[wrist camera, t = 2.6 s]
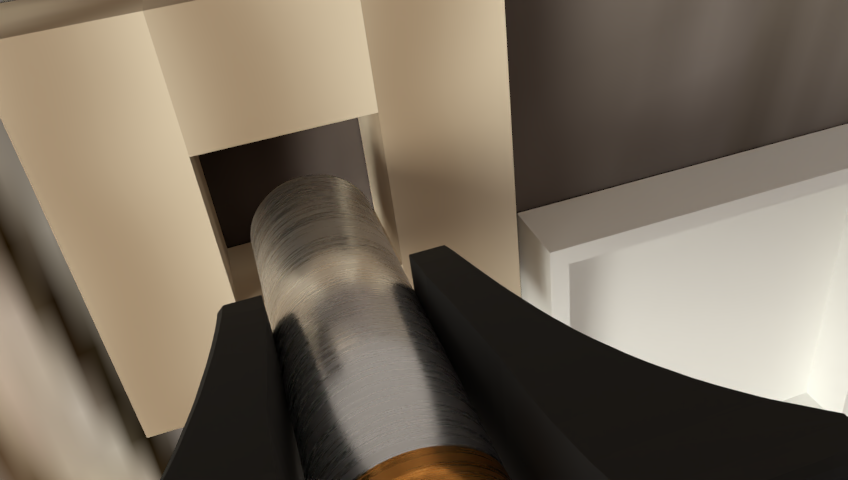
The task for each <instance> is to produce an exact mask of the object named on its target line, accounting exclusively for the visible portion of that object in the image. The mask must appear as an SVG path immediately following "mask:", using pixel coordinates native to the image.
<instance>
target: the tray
mask: <svg viewBox="0 0 848 480" xmlns="http://www.w3.org/2000/svg"><path fill="white" fill-rule="evenodd" d="M517 222H518V240H519V258H520V276H521V294H522V299H524V300H525V301H527V302H529V303H530V304H532V305H533V306H535V307H536V308H538V309H540V310H541V311H543V312H545V313H546V314H548V315H550V316H551V317H553V318H555V319H557V320H559V321H560V322H562V323H564V324H566V325H568V326H570V327H571V328H573V329H575V330H577V331H579V332H581V333H583V334H585V335H587V336H589V337H591V338H593V339H595V340H597V341H600V342H602V343H604V344H606V345H609V346H611V347H613V348H615V349H618V350H620V351H622V352H624V353H627V354H629V355H631V356H634V357H636V358H639V359H641V360H644V361H646V362H649V363H652V364H654V365H657V366H660V367H663V368H666V369H669V370H672V371H674V372H677V373H680V374H683V375H686V376H689V377H692V378H695V379H698V380H702V381H705V382H708V383H711V384H715V385H718V386H722V387H725V388H729V389H733V390H737V391H741V392H744V393H748V394H752V395H756V396H760V397H764V398H768V399H773V400H778V401H783V402H788V403H793V404H798V405H803V406H808V407H813V408H818V409H823V410H828V411H834V412H839V413H844V414H845V415H846V416H847V417H848V124H844V125H840V126H837V127H833V128H829V129H826V130H822V131H818V132H815V133H811V134H807V135H804V136H800V137H796V138H793V139H789V140H785V141H782V142H778V143H774V144H771V145H767V146H763V147H760V148H756V149H752V150H748V151H745V152H741V153H737V154H734V155H730V156H726V157H723V158H719V159H715V160H712V161H708V162H704V163H701V164H697V165H693V166H690V167H686V168H682V169H679V170H675V171H671V172H668V173H664V174H660V175H656V176H653V177H649V178H645V179H642V180H638V181H634V182H631V183H627V184H623V185H620V186H616V187H612V188H609V189H605V190H601V191H598V192H594V193H590V194H587V195H583V196H579V197H576V198H572V199H568V200H564V201H561V202H557V203H553V204H550V205H546V206H542V207H539V208H535V209H531V210H528V211H524V212H520V213H517Z"/></svg>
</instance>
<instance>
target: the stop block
mask: <svg viewBox="0 0 848 480" xmlns="http://www.w3.org/2000/svg"><path fill="white" fill-rule="evenodd" d="M357 117H358V121H359V127H360V132H361V138H362V144H363V149H364V155H365V161H366V166H367V172H368V178H369V183H370V189H371V195H372V200H373V206H374V210H373V211H374V213H375V215H376V217H377V219H378V221H379V223H380V225H381V227H382V229H383V231H384V233H385V235H386V237H387V239H388V241H389V242H390V244H391V246H392V248H393V250H394V252H395V254H396V256H397V258H398V260H399V262H400V264H401V266H402V268H403V270H404V272H405V274H406V276H407V278H408V280H409V282H410V284H411V286H412V287H413V289H414V285H413V279H412V272H411V266H410V259H409V255H410V254H413V253H417V252H421V251H424V250H428V249H432V248H435V247H439V246H443V245H445V246H447V247H449V248H450V249H452V250H453V251H455V252H456V253H457V254H459V255H460V256H461V257H463V258H464V259H465V260H467V261H468V262H470V263H471V264H472V265H474V266H475V267H477V268H478V269H479V270H481V271H482V272H484V273H485V274H486V275H488V276H489V277H491V278H492V279H494V280H495V281H496V282H498V283H499V284H501V285H502V286H504V287H505V288H507V289H508V290H510V291H511V292H513V293H514V294H516V295H518V296H519V297H521V286H520V269H519V251H518V233H517V215H516V197H515V180H514V162H513V144H512V126H511V109H510V91H509V73H508V55H507V38H506V20H505V2H504V0H15V1H9V2H4V3H0V118H1V120H2V122H3V124H4V127H5V129H6V131H7V133H8V135H9V138H10V140H11V142H12V144H13V146H14V148H15V151H16V153H17V155H18V157H19V159H20V162H21V164H22V166H23V168H24V170H25V172H26V175H27V177H28V179H29V181H30V183H31V186H32V188H33V190H34V192H35V194H36V197H37V199H38V201H39V203H40V205H41V207H42V210H43V212H44V214H45V216H46V218H47V221H48V223H49V225H50V227H51V229H52V231H53V234H54V236H55V238H56V240H57V242H58V245H59V247H60V249H61V251H62V253H63V255H64V258H65V260H66V262H67V264H68V266H69V269H70V271H71V273H72V275H73V277H74V279H75V282H76V284H77V286H78V288H79V290H80V293H81V295H82V297H83V299H84V301H85V303H86V306H87V308H88V310H89V312H90V314H91V317H92V319H93V321H94V323H95V325H96V328H97V330H98V332H99V334H100V336H101V338H102V341H103V343H104V345H105V347H106V349H107V352H108V354H109V356H110V358H111V360H112V362H113V365H114V367H115V369H116V371H117V373H118V376H119V378H120V380H121V382H122V384H123V386H124V389H125V391H126V393H127V395H128V397H129V400H130V402H131V404H132V406H133V408H134V410H135V413H136V415H137V417H138V419H139V421H140V424H141V426H142V428H143V430H144V432H145V435H146V437H147V438H148V437H152V436H155V435H158V434H162V433H165V432H168V431H172V430H175V429H178V428H182V427H184V426H185V423H186V421H187V418H188V416H189V413H190V411H191V408H192V406H193V403H194V400H195V397H196V394H197V391H198V388H199V385H200V382H201V379H202V376H203V373H204V370H205V367H206V363H207V360H208V356H209V352H210V349H211V345H212V341H213V336H214V332H215V326H216V320H217V313H218V312H219V310H220V309H221V307H222V306H223V305H226V304H230V303H234V302H237V301H241V300H245V299H248V298H252V297H256V296H259V295H262V298H263V301H264V297H263V292H262V288H261V283H260V279H259V275H258V270H257V266H256V261H255V257H254V252H253V248H252V243H251V242H250V243H246V244H242V245H238V246H234V247H231V248H227V247H226V243H225V240H224V237H223V234H222V231H221V227H220V224H219V221H218V218H217V215H216V211H215V208H214V205H213V202H212V199H211V195H210V192H209V189H208V186H207V182H206V179H205V176H204V173H203V170H202V166H201V163H200V160H199V157H198V155H201V154H205V153H209V152H213V151H217V150H222V149H226V148H230V147H234V146H239V145H243V144H247V143H251V142H256V141H260V140H264V139H268V138H272V137H277V136H281V135H285V134H289V133H294V132H298V131H302V130H306V129H311V128H315V127H319V126H323V125H327V124H332V123H336V122H340V121H344V120H349V119H353V118H357ZM264 305H265V301H264ZM265 308H266V306H265ZM266 312H267V310H266Z"/></svg>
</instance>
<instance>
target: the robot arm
mask: <svg viewBox="0 0 848 480" xmlns="http://www.w3.org/2000/svg"><path fill="white" fill-rule="evenodd" d="M409 259H410V266H411V272H412V279H413V285H414V291H415V293H416V295H417V297H418V299H419V301H420V303H421V305H422V307H423V309H424V311H425V313H426V315H427V317H428V319H429V321H430V323H431V325H432V327H433V329H434V331H435V332H436V334H437V336H438V338H439V340H440V342H441V344H442V346H443V348H444V350H445V352H446V354H447V356H448V358H449V360H450V362H451V364H452V366H453V368H454V370H455V372H456V374H457V376H458V377H459V379H460V381H461V383H462V385H463V387H464V389H465V391H466V393H467V395H468V397H469V399H470V401H471V403H472V405H473V407H474V409H475V411H476V413H477V415H478V417H479V419H480V421H481V422H482V424H483V426H484V428H485V430H486V432H487V434H488V436H489V438H490V440H491V442H492V444H493V446H494V448H495V450H496V452H497V454H498V456H499V458H500V460H501V462H502V464H503V466H504V467H505V469H506V471H507V473H508V475H509V477H510V479H511V480H848V417H847V416H846V415H845V414H844V413H839V412H834V411H828V410H823V409H818V408H813V407H808V406H803V405H798V404H793V403H788V402H783V401H778V400H773V399H768V398H764V397H760V396H756V395H752V394H748V393H744V392H741V391H737V390H733V389H729V388H725V387H722V386H718V385H715V384H711V383H708V382H705V381H702V380H698V379H695V378H692V377H689V376H686V375H683V374H680V373H677V372H674V371H672V370H669V369H666V368H663V367H660V366H657V365H654V364H652V363H649V362H646V361H644V360H641V359H639V358H636V357H634V356H631V355H629V354H627V353H624V352H622V351H620V350H618V349H615V348H613V347H611V346H609V345H606V344H604V343H602V342H600V341H597V340H595V339H593V338H591V337H589V336H587V335H585V334H583V333H581V332H579V331H577V330H575V329H573V328H571V327H570V326H568V325H566V324H564V323H562V322H560V321H559V320H557V319H555V318H553V317H551V316H550V315H548V314H546V313H545V312H543V311H541V310H540V309H538V308H536V307H535V306H533V305H532V304H530V303H529V302H527V301H525V300H524V299H522V298H521V297H519V296H518V295H516V294H514V293H513V292H511V291H510V290H508V289H507V288H505V287H504V286H502V285H501V284H499V283H498V282H496V281H495V280H494V279H492V278H491V277H489V276H488V275H486V274H485V273H484V272H482V271H481V270H479V269H478V268H477V267H475V266H474V265H472V264H471V263H470V262H468V261H467V260H465V259H464V258H463V257H461V256H460V255H459V254H457V253H456V252H455V251H453V250H452V249H450V248H449V247H447V246H445V245H443V246H439V247H435V248H432V249H428V250H424V251H421V252H417V253H413V254H410V255H409ZM160 480H305V479H304V475H303V470H302V466H301V461H300V457H299V452H298V448H297V443H296V439H295V435H294V430H293V426H292V421H291V417H290V412H289V408H288V403H287V399H286V394H285V389H284V383H283V377H282V372H281V367H280V363H279V358H278V354H277V350H276V345H275V341H274V336H273V332H272V329H271V325H270V322H269V319H268V315H267V312H266V308H265V305H264V301H263V298H262V295H259V296H256V297H252V298H248V299H245V300H241V301H237V302H234V303H230V304H226V305H223V306H222V307H221V309H220V310H219V312H218V313H217V320H216V326H215V332H214V336H213V341H212V345H211V349H210V352H209V356H208V360H207V363H206V367H205V370H204V373H203V376H202V379H201V382H200V385H199V388H198V391H197V394H196V397H195V400H194V403H193V406H192V408H191V411H190V413H189V416H188V418H187V421H186V423H185V426H184V428H183V431H182V433H181V435H180V438H179V440H178V443H177V445H176V448H175V450H174V452H173V454H172V456H171V458H170V461H169V463H168V465H167V467H166V469H165V471H164V473H163V475H162V477H161V479H160Z"/></svg>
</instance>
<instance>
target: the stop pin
mask: <svg viewBox="0 0 848 480" xmlns="http://www.w3.org/2000/svg"><path fill="white" fill-rule="evenodd" d="M250 234H251V243H252V248H253V252H254V257H255V261H256V266H257V270H258V275H259V279H260V283H261V288H262V292H263V297H264V301H265V306H266V310H267V315H268V319H269V322H270V325H271V329H272V332H273V336H274V341H275V345H276V350H277V354H278V358H279V363H280V367H281V372H282V377H283V383H284V389H285V394H286V399H287V403H288V408H289V412H290V417H291V421H292V426H293V430H294V435H295V439H296V443H297V448H298V452H299V457H300V461H301V466H302V470H303V475H304V479H305V480H511V479H510V477H509V475H508V473H507V471H506V469H505V467H504V466H503V464H502V462H501V460H500V458H499V456H498V454H497V452H496V450H495V448H494V446H493V444H492V442H491V440H490V438H489V436H488V434H487V432H486V430H485V428H484V426H483V424H482V422H481V421H480V419H479V417H478V415H477V413H476V411H475V409H474V407H473V405H472V403H471V401H470V399H469V397H468V395H467V393H466V391H465V389H464V387H463V385H462V383H461V381H460V379H459V377H458V376H457V374H456V372H455V370H454V368H453V366H452V364H451V362H450V360H449V358H448V356H447V354H446V352H445V350H444V348H443V346H442V344H441V342H440V340H439V338H438V336H437V334H436V332H435V331H434V329H433V327H432V325H431V323H430V321H429V319H428V317H427V315H426V313H425V311H424V309H423V307H422V305H421V303H420V301H419V299H418V297H417V295H416V293H415V291H414V289H413V287H412V286H411V284H410V282H409V280H408V278H407V276H406V274H405V272H404V270H403V268H402V266H401V264H400V262H399V260H398V258H397V256H396V254H395V252H394V250H393V248H392V246H391V244H390V242H389V241H388V239H387V237H386V235H385V233H384V231H383V229H382V227H381V225H380V223H379V221H378V219H377V217H376V215H375V213H374V211H373V209H372V207H371V205H370V203H369V202H368V200H367V198H366V197H365V195H364V194H363V193H362V192H361V191H360V190H359V189H358V188H357V187H356V186H354V185H353V184H351V183H350V182H348V181H346V180H344V179H341V178H338V177H335V176H330V175H320V174H316V175H306V176H301V177H298V178H295V179H292V180H290V181H287V182H285V183H283V184H282V185H280V186H278V187H277V188H275V189H274V190H273V191H272V192H270V193H269V194H268V195H267V196H266V197H265V198H264V200H263V201H262V202H261V204H260V205H259V207H258V208H257V210H256V212H255V215H254V217H253V220H252V224H251V232H250Z"/></svg>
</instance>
